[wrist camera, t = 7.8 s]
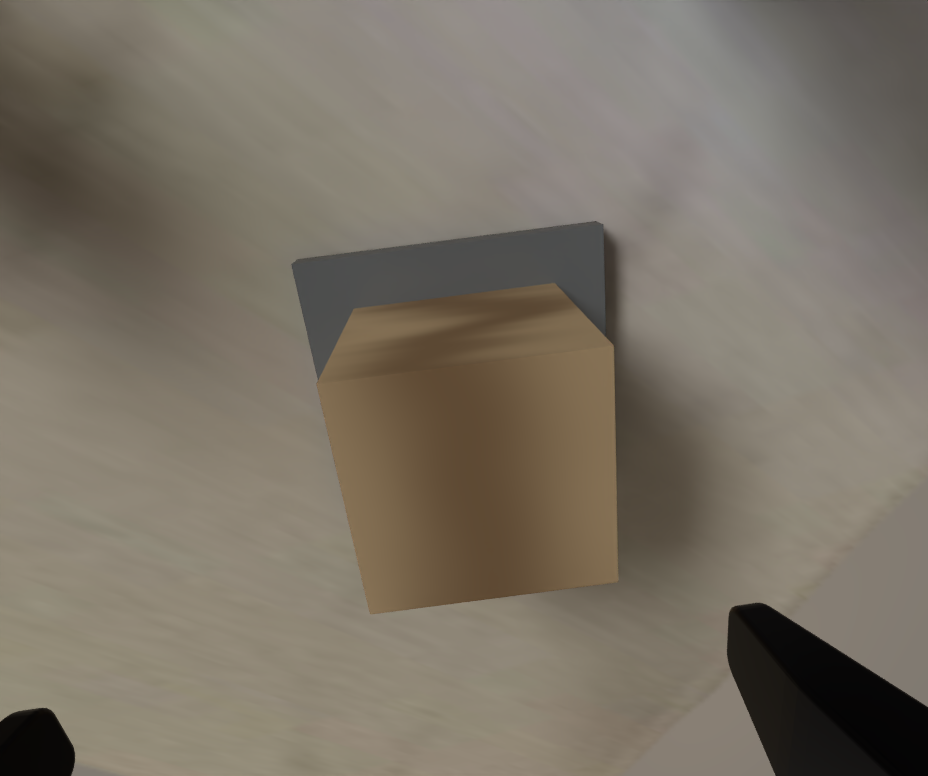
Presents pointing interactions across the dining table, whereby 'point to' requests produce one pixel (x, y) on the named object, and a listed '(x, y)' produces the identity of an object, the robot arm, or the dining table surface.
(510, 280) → the slate coaster
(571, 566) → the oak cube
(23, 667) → the dining table surface
